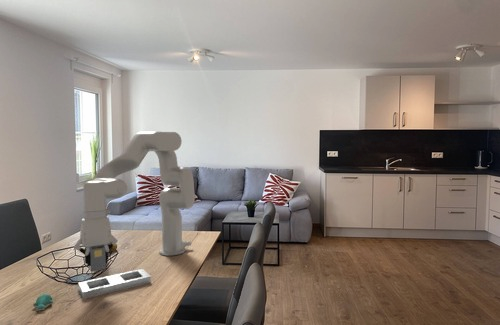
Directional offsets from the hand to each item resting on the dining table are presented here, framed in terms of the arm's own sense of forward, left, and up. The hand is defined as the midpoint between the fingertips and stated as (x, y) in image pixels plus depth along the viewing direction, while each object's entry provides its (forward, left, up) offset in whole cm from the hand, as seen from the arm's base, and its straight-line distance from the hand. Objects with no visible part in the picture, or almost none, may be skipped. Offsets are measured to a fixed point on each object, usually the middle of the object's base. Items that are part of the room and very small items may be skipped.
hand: (96, 263), depth 126 cm
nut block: (0, 0, -2) cm, 2 cm away
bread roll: (-11, -45, -11) cm, 48 cm away
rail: (-6, 0, -10) cm, 12 cm away
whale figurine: (+18, +3, -11) cm, 21 cm away
